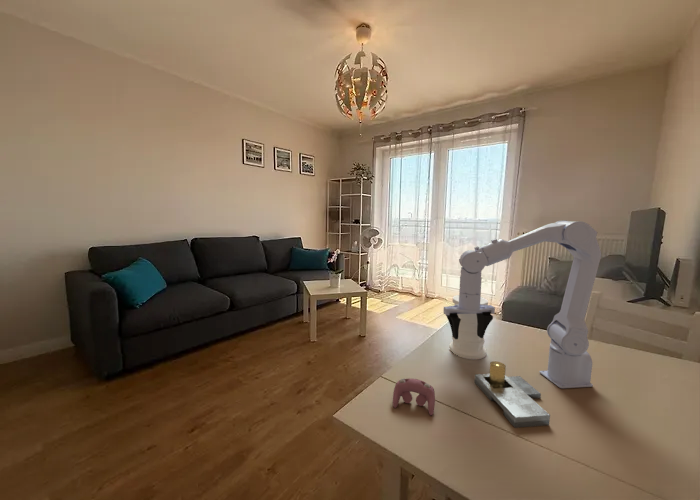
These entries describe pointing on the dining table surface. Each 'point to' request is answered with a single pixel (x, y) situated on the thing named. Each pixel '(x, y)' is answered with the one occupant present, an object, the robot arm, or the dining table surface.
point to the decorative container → (468, 335)
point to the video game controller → (414, 385)
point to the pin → (497, 374)
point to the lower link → (520, 383)
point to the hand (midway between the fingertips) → (467, 337)
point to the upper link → (515, 403)
